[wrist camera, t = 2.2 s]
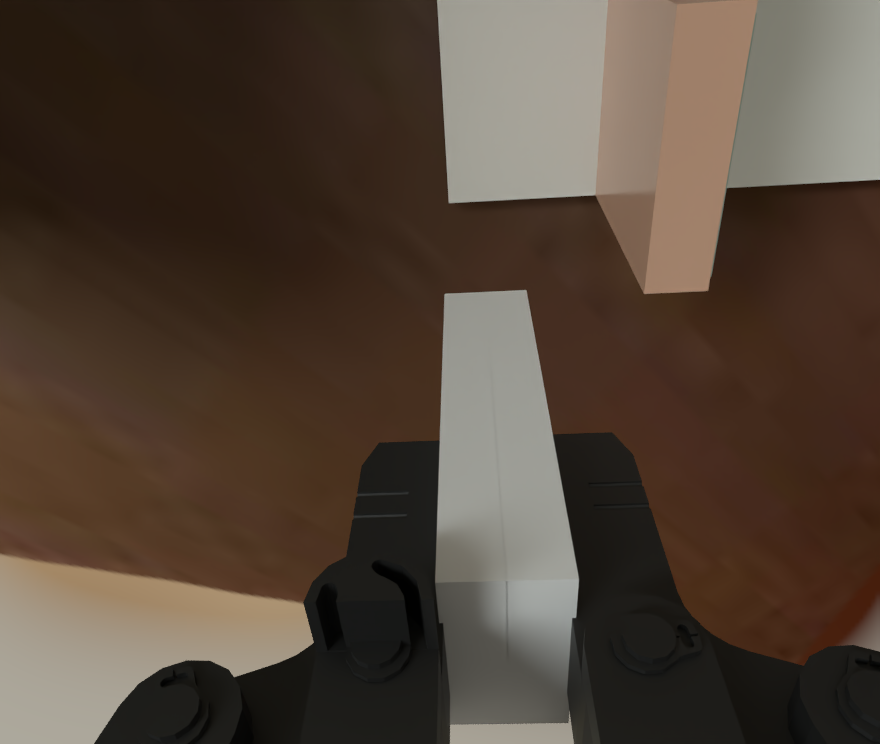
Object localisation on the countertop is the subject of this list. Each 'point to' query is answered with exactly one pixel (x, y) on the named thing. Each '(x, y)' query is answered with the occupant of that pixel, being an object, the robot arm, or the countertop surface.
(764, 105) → the stone board
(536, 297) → the countertop surface
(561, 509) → the robot arm
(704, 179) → the tile
